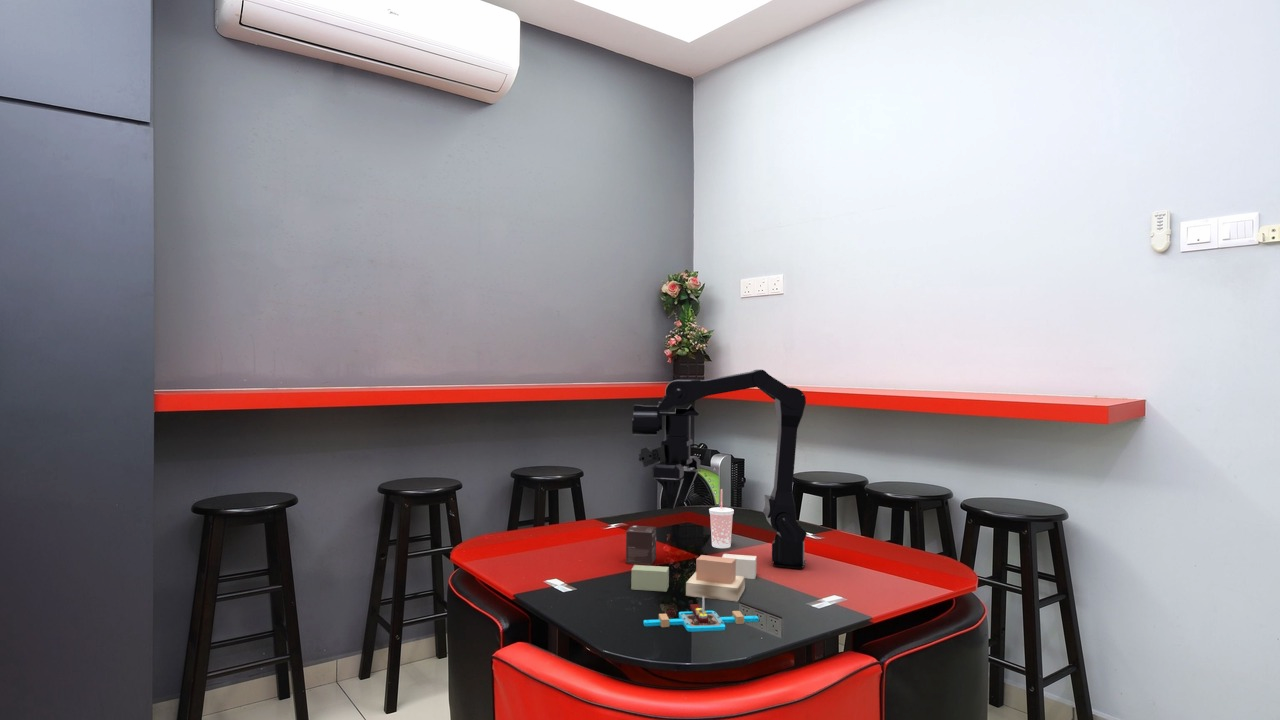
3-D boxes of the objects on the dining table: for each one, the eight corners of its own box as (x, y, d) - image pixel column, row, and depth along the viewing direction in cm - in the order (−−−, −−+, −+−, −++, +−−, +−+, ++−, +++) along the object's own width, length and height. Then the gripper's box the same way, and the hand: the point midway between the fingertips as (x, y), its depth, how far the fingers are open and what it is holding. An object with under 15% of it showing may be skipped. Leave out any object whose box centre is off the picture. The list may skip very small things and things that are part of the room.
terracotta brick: (735, 579, 138) (735, 558, 138) (731, 584, 135) (731, 563, 135) (701, 575, 140) (701, 554, 141) (696, 579, 137) (696, 559, 137)
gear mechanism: (639, 616, 125) (647, 636, 116) (639, 586, 125) (647, 603, 116) (748, 612, 128) (764, 631, 118) (748, 582, 128) (765, 599, 119)
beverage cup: (735, 549, 171) (735, 491, 171) (709, 548, 171) (710, 491, 171) (732, 543, 177) (732, 487, 177) (707, 542, 177) (708, 487, 177)
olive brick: (668, 586, 141) (668, 566, 141) (666, 592, 138) (666, 571, 138) (634, 584, 142) (634, 564, 142) (631, 590, 139) (631, 569, 139)
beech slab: (744, 591, 140) (744, 576, 140) (737, 604, 132) (737, 588, 132) (695, 586, 143) (695, 571, 143) (685, 598, 135) (686, 582, 135)
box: (651, 565, 156) (652, 532, 156) (625, 563, 157) (625, 530, 157) (656, 558, 162) (656, 526, 162) (631, 556, 163) (631, 525, 163)
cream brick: (756, 575, 150) (756, 556, 150) (754, 579, 147) (755, 560, 147) (723, 572, 152) (723, 553, 152) (721, 576, 148) (721, 557, 148)
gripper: (656, 430, 170) (655, 495, 170) (629, 437, 152) (628, 510, 152) (701, 432, 166) (700, 499, 166) (679, 439, 149) (678, 514, 148)
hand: (676, 505), depth 158 cm, fingers open, 9 cm apart
